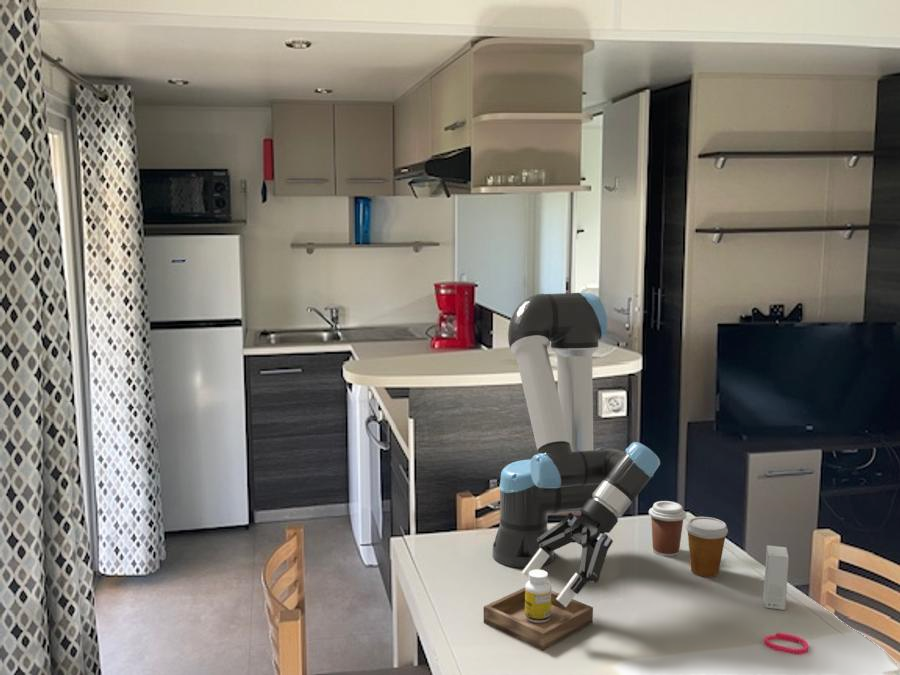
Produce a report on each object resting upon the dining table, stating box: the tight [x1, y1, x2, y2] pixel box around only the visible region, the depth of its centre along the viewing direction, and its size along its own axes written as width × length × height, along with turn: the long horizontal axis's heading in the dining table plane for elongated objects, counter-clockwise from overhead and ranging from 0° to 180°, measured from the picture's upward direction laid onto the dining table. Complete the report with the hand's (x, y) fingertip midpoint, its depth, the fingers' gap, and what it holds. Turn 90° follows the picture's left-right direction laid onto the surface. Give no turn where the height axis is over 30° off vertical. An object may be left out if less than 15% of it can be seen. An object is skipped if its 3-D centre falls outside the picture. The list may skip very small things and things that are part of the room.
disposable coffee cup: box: [685, 516, 729, 578], centre depth 203 cm, size 10×10×12 cm
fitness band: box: [763, 631, 810, 655], centre depth 169 cm, size 8×6×2 cm
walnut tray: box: [483, 587, 594, 651], centre depth 178 cm, size 16×16×4 cm
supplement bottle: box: [524, 569, 552, 623], centre depth 178 cm, size 5×5×10 cm
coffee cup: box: [648, 500, 687, 557], centre depth 215 cm, size 9×9×12 cm
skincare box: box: [763, 545, 790, 611], centre depth 186 cm, size 6×4×12 cm
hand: (542, 589), depth 177 cm, fingers open, 13 cm apart
